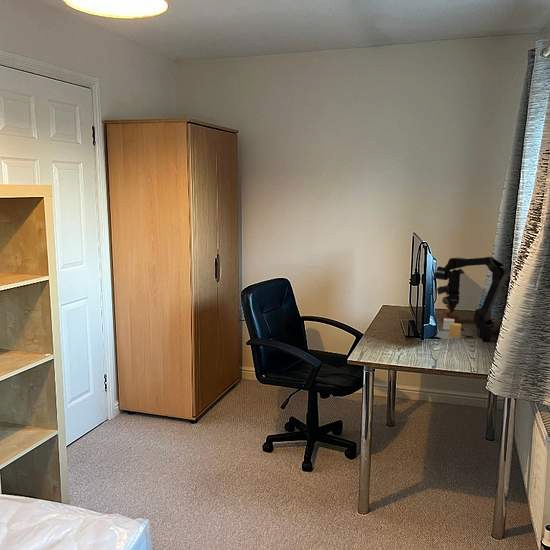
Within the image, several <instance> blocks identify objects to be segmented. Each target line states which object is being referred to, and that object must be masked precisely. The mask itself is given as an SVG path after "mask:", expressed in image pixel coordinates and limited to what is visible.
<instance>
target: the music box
mask: <svg viewBox="0 0 550 550" xmlns="http://www.w3.org/2000/svg"><path fill="white" fill-rule="evenodd" d="M445 295H447V292H445ZM441 300H442V303H443V305H445V308H446V310H445V312H444V313H441V314H440V315H439V322H440V323H442V324H443V323H444V318H447V319H454V323H458V324H459V319H460V317H459V316H458V315H457V314H455V313H454V314H453V312H451V310H450V303H449V302H448V301H447V296H444V297H442V299H441ZM459 303H460V300H459V301H458V303H457V305H458V304H459Z"/></svg>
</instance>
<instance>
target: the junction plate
mask: <svg viewBox="0 0 550 550" xmlns="http://www.w3.org/2000/svg"><path fill="white" fill-rule="evenodd" d="M437 332H438V334H437V336H435V337H436V338H440V339H442V340H451V339H461V338H466V336H464V335H462V334H460V338H459V337H449V330H441V331H440V330H439V331H437Z"/></svg>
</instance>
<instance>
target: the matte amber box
mask: <svg viewBox="0 0 550 550" xmlns="http://www.w3.org/2000/svg"><path fill="white" fill-rule="evenodd" d="M448 331H449V337H459V338H458V339H461V338H460V335H461V332H462V324H461V323H459V322H458V323H450V330H448Z"/></svg>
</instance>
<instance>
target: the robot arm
mask: <svg viewBox="0 0 550 550" xmlns="http://www.w3.org/2000/svg"><path fill="white" fill-rule="evenodd" d="M484 265H485V266H486V267H487V268H488V270H489V271H490V272H491V273H492V274H491V284H490V286H489V289H488V291H487V294H486V296H485V298H484V300H483V303H482V306H481V307H479V308H476V309H475V311H474V315H472V316H473V322H474V324H475V327H476V329H477V332H476V337H477V338H478V339H482V342H483V343H485V342H493V341H494V339H492V332H493V328H494V327H495V325H496V324H495V322H494V321H493V320H492V310H493V309H492V308H493V306H494V304H495V302H496V300H497V297H498V294H499V292H500V290H501V287H502V286H503V284H504V283H505V282H506V281H507V280H508V278H509V277H510V275H511V269H510V268H509V267H508V266H506V265H505V264H504V263H502V262H501V261H498V260H497V259H495V257H493V256H485V257H474V258H473V257H472V258H465V257H451V258H449V260H448V261H447V264H446V265H445V266H437V268H436V270H435V271H434V278H435V279H436V280H442V281H447V280H448V282H447V285H444V286H442V285H441V286H439V287H436V291H437V294H438V296H439V295H442V294H446V292H447V294H446V297H447V301H448V302H449V303H450V310H451V312H452V313H454V312H455V309H456V307H457V306H458V304H459V303H458V301H459V302H460V287H461V285H460V284H461V275H464V274H465V271H464V270H463V269H462V268H465V267H468V266H469V267H471V266H484ZM457 303H458V304H457Z"/></svg>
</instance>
